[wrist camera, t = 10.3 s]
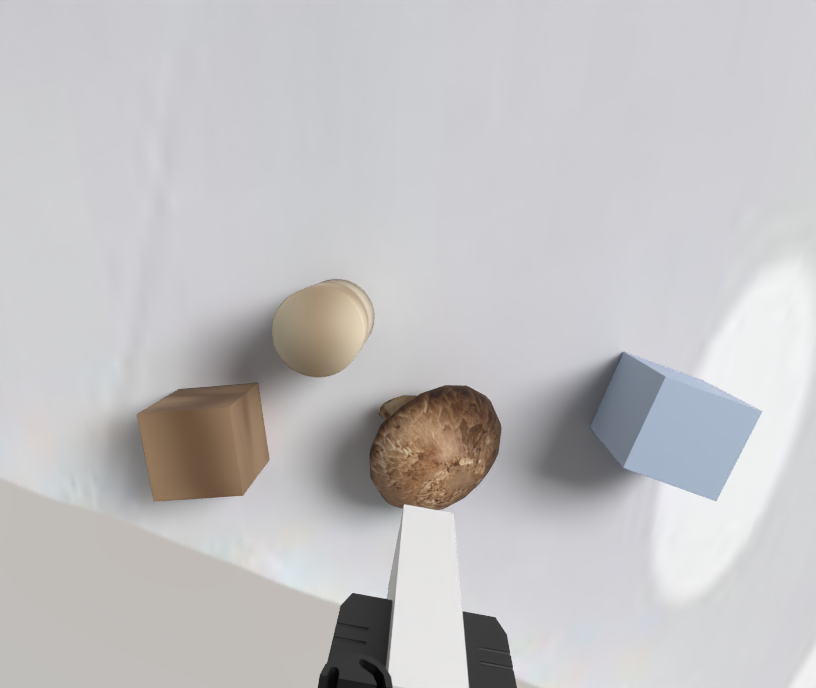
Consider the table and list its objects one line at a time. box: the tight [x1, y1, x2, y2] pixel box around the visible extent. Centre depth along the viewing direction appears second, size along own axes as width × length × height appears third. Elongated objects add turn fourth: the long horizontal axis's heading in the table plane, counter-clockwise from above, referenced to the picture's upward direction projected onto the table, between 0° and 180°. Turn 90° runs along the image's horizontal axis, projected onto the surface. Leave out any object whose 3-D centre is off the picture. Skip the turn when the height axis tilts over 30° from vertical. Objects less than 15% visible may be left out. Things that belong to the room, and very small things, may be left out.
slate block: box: [590, 352, 762, 501], centre depth 30 cm, size 5×5×6 cm
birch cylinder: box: [272, 279, 374, 377], centre depth 30 cm, size 4×4×6 cm
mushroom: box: [370, 385, 501, 510], centre depth 31 cm, size 8×8×6 cm
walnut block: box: [137, 383, 269, 502], centre depth 32 cm, size 5×5×5 cm
